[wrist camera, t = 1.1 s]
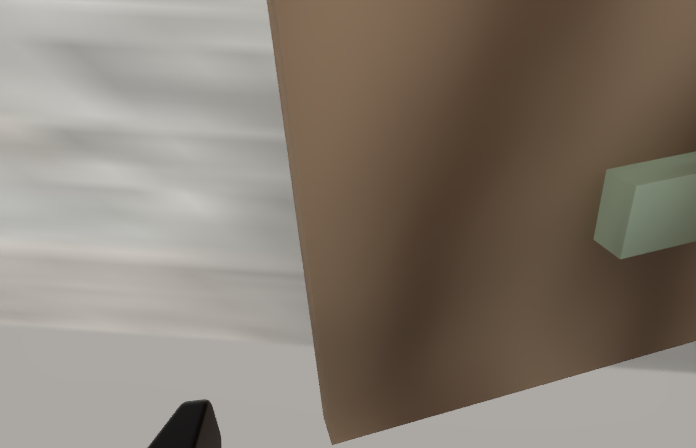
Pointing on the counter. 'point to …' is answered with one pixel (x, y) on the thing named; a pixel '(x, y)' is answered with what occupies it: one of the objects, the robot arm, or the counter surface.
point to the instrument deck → (486, 193)
